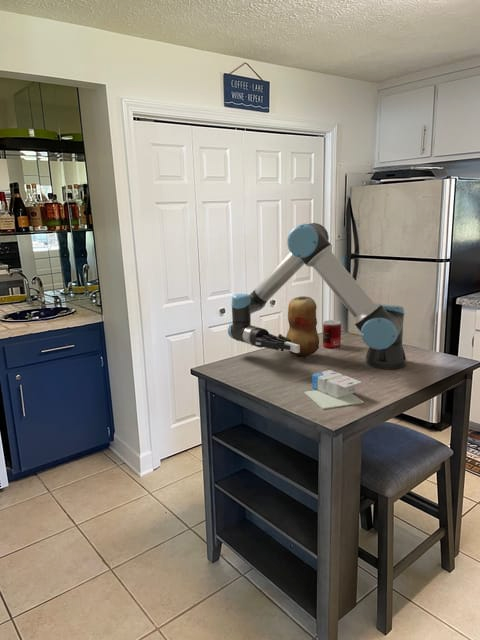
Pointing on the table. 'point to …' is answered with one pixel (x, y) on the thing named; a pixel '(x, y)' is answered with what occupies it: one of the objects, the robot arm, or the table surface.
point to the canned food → (331, 334)
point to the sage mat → (332, 399)
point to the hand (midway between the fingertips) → (298, 349)
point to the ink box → (334, 383)
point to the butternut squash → (303, 325)
